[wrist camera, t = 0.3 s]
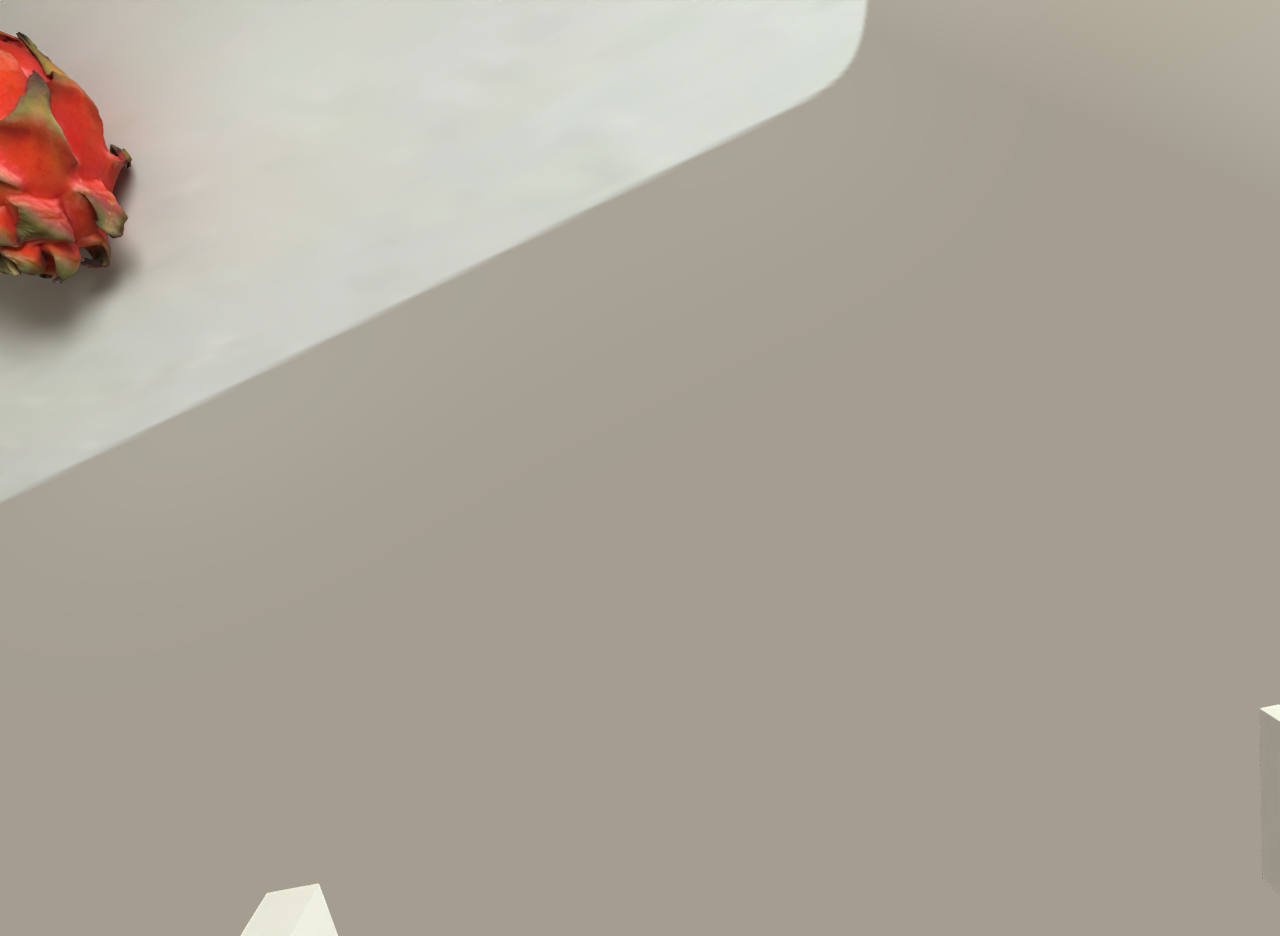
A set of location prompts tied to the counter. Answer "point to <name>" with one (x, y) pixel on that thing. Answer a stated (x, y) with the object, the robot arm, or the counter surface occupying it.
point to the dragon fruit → (52, 169)
